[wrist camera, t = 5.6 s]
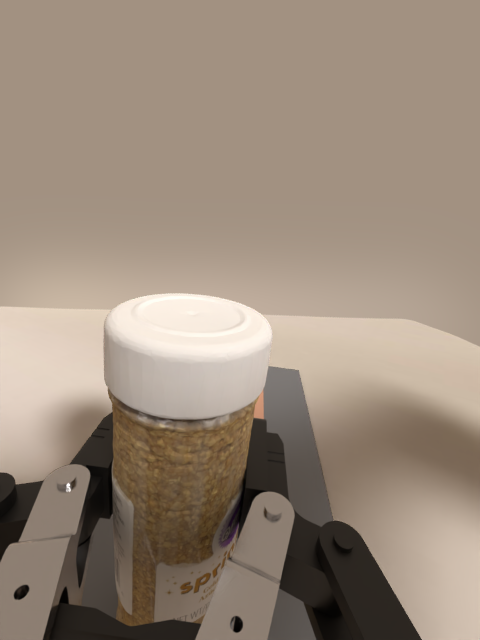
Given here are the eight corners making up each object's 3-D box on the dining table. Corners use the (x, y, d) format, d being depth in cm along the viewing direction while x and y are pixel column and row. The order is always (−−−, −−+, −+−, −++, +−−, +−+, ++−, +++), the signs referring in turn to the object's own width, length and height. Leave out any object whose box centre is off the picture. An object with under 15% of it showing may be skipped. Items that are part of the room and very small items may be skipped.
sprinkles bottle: (213, 704, 11) (272, 363, 6) (90, 671, 11) (58, 327, 7) (233, 564, 15) (277, 300, 11) (143, 544, 16) (147, 281, 11)
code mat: (298, 371, 35) (298, 369, 35) (459, 1076, 7) (462, 1074, 7) (156, 352, 35) (156, 350, 35) (-271, 948, 7) (-276, 946, 7)
